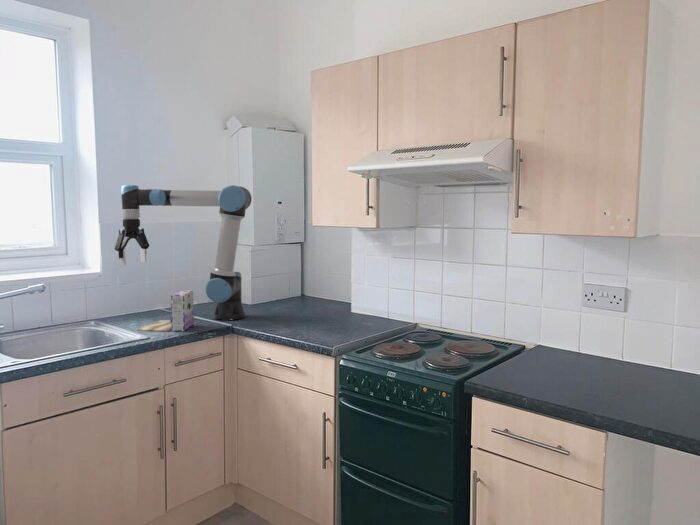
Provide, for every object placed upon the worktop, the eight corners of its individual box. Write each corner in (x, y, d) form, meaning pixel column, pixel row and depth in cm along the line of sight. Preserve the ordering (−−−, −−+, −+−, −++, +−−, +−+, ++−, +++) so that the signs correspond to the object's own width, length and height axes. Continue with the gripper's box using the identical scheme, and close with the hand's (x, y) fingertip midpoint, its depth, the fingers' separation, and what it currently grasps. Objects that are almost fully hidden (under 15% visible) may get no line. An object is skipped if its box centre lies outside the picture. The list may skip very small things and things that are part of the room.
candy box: (181, 324, 258) (180, 289, 257) (194, 325, 258) (193, 289, 256) (171, 331, 244) (170, 294, 243) (184, 331, 244) (183, 294, 243)
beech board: (182, 324, 260) (182, 322, 260) (167, 331, 244) (167, 330, 244) (153, 323, 261) (153, 321, 261) (137, 330, 245) (137, 329, 245)
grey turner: (192, 321, 265) (192, 319, 265) (189, 323, 261) (189, 321, 261) (160, 320, 267) (160, 318, 267) (157, 322, 263) (156, 320, 263)
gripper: (143, 217, 273) (145, 261, 275) (104, 219, 250) (107, 266, 252) (155, 217, 270) (157, 261, 272) (117, 219, 247) (120, 266, 249)
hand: (133, 263), depth 262 cm, fingers open, 13 cm apart
